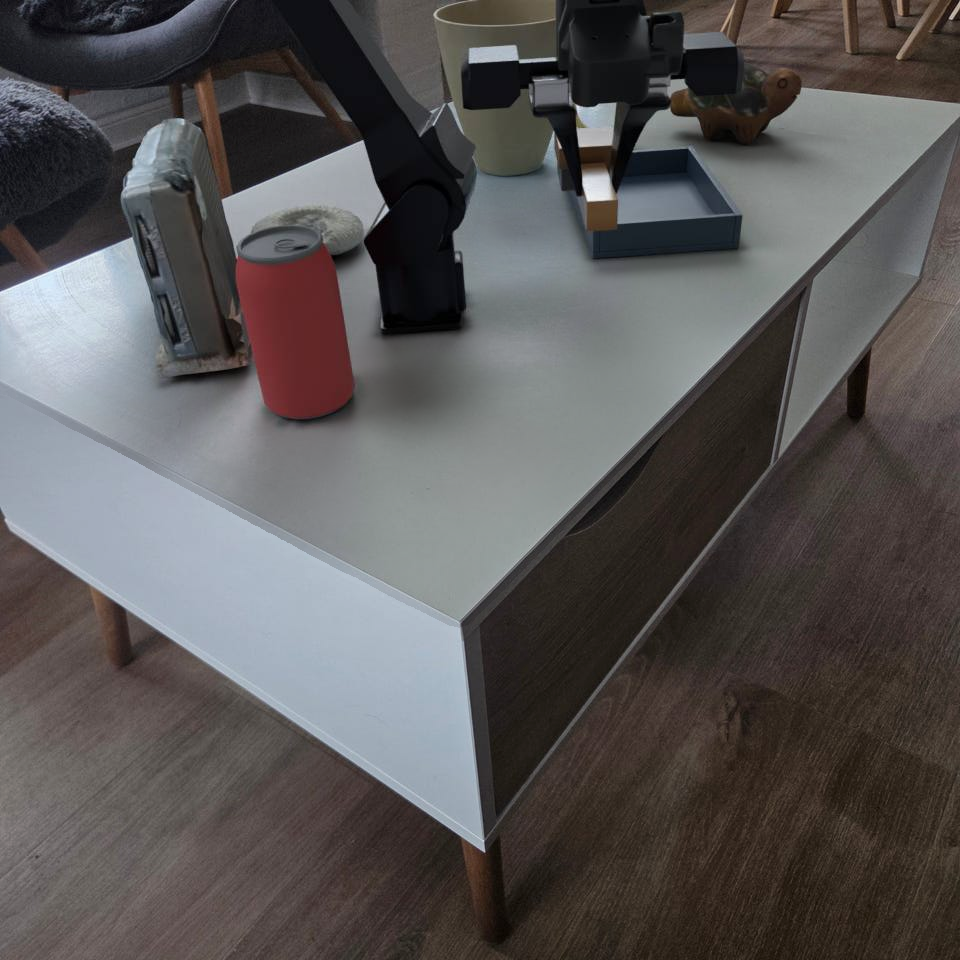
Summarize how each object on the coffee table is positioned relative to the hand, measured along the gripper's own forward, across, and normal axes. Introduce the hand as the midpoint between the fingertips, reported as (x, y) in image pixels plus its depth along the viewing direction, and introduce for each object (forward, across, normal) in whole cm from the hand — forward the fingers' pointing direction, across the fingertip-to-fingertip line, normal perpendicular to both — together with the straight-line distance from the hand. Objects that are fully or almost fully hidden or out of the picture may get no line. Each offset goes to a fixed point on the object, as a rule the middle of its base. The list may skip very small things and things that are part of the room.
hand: (595, 193), depth 68 cm
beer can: (+10, -22, -10) cm, 26 cm away
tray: (+10, +7, +21) cm, 24 cm away
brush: (+1, 0, +2) cm, 3 cm away
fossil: (+10, -26, +16) cm, 32 cm away
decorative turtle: (+10, +20, +43) cm, 49 cm away
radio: (+10, -33, +4) cm, 34 cm away
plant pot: (+10, -5, +37) cm, 39 cm away
